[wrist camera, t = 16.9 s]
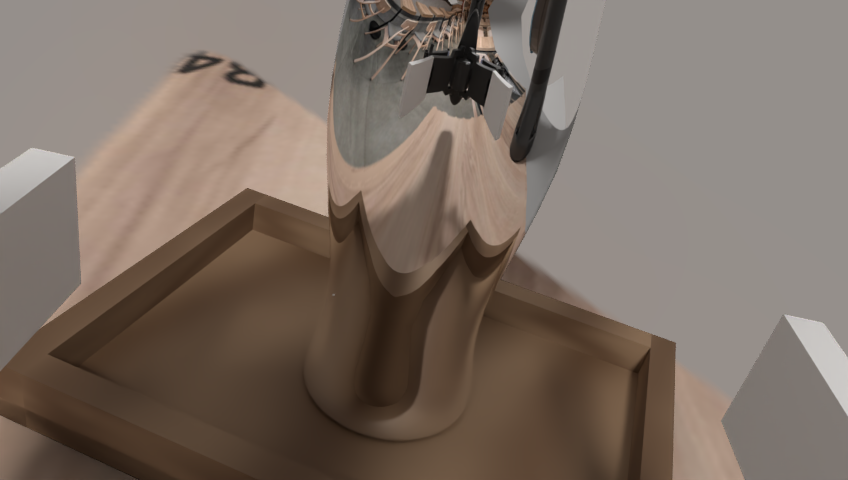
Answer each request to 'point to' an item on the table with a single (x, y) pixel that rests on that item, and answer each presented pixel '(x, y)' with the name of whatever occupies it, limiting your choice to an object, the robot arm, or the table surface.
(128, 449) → the walnut tray
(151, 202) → the table surface
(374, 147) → the silver metal cup
